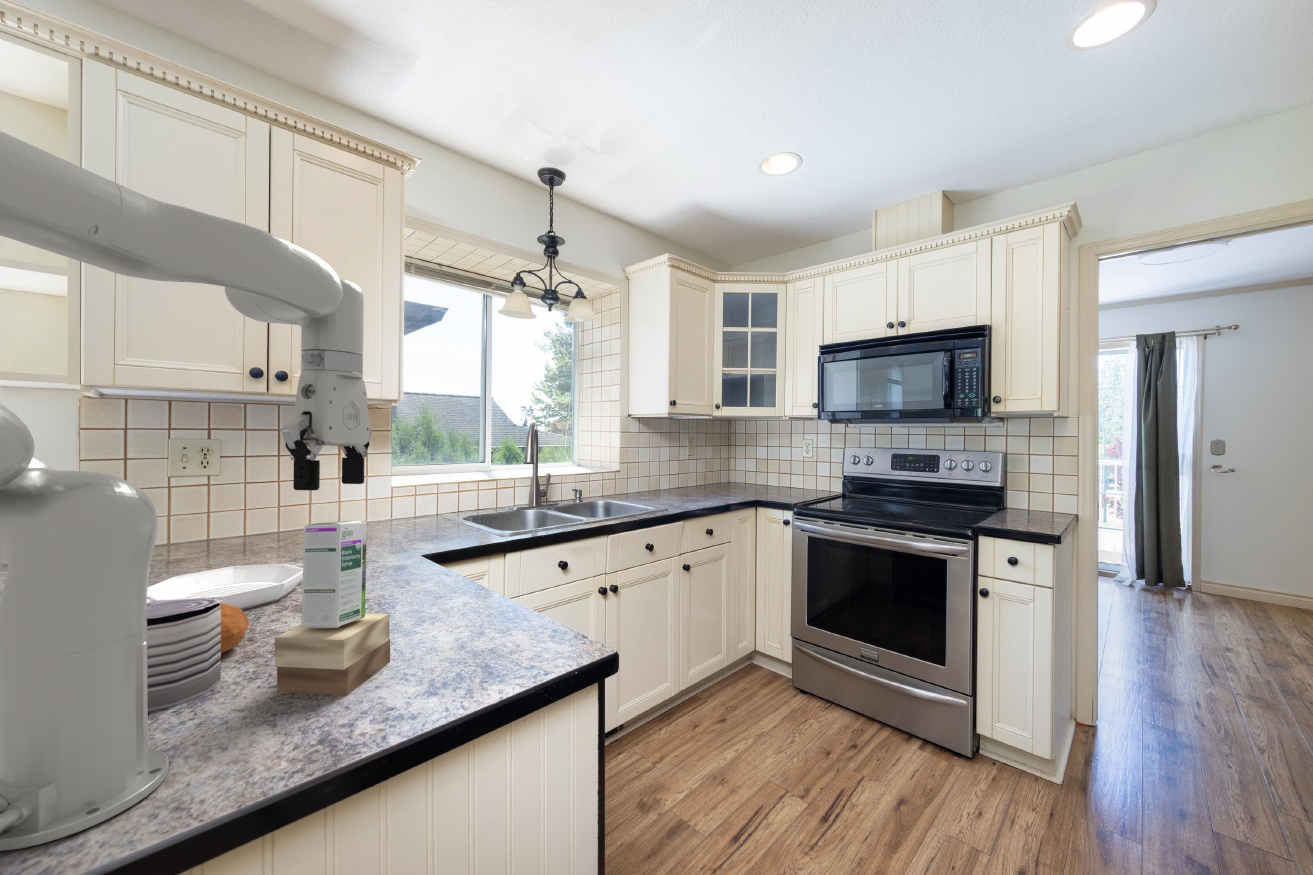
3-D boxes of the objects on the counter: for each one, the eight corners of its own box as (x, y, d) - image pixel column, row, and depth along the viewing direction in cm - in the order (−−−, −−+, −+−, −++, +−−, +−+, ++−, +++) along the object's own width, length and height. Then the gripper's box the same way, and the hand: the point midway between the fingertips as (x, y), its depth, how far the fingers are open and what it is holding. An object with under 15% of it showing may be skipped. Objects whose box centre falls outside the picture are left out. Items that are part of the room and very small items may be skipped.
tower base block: (347, 697, 69) (347, 668, 69) (277, 695, 70) (276, 666, 70) (390, 664, 79) (390, 638, 79) (328, 662, 80) (327, 636, 80)
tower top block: (343, 669, 69) (343, 640, 69) (275, 666, 70) (274, 637, 70) (389, 639, 79) (389, 613, 79) (328, 636, 80) (328, 611, 80)
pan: (149, 637, 89) (148, 612, 89) (106, 609, 102) (106, 588, 102) (337, 590, 116) (337, 571, 116) (283, 573, 129) (283, 556, 129)
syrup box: (337, 628, 71) (341, 522, 72) (298, 627, 72) (303, 522, 73) (365, 618, 76) (369, 519, 78) (329, 617, 77) (333, 520, 79)
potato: (243, 635, 89) (243, 592, 89) (254, 655, 81) (254, 608, 81) (170, 651, 83) (170, 605, 83) (174, 674, 75) (174, 623, 75)
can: (80, 721, 63) (79, 623, 63) (143, 678, 74) (142, 595, 74) (193, 707, 66) (193, 614, 66) (237, 668, 77) (237, 588, 77)
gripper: (315, 357, 65) (313, 493, 65) (392, 375, 82) (390, 482, 82) (257, 357, 65) (256, 492, 65) (346, 374, 82) (345, 481, 82)
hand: (331, 486), depth 73 cm, fingers open, 9 cm apart
